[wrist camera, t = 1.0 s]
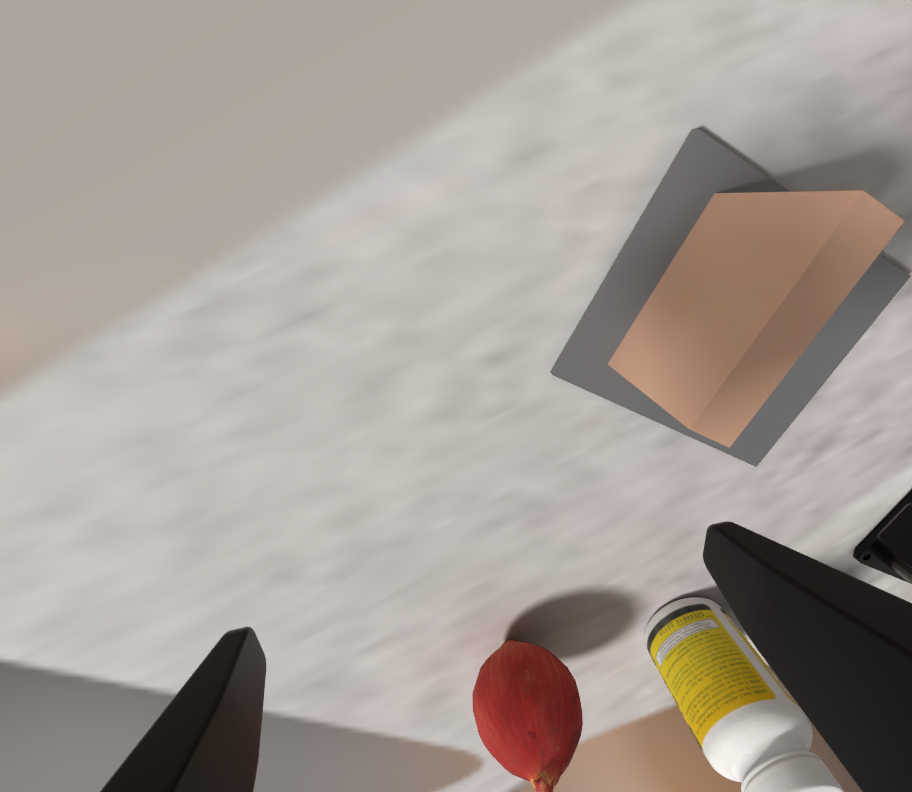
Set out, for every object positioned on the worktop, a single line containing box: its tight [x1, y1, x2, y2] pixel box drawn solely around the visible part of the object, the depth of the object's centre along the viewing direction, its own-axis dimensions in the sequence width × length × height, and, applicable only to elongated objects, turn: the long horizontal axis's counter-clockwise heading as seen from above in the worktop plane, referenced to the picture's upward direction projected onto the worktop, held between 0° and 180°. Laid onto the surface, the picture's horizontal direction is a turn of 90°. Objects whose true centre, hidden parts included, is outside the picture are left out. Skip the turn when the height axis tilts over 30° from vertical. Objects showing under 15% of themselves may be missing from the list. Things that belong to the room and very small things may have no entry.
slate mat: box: [551, 128, 910, 467], centre depth 21 cm, size 13×11×1 cm
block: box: [608, 190, 904, 448], centre depth 17 cm, size 2×8×6 cm, turn 154°
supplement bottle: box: [644, 597, 844, 792], centre depth 25 cm, size 5×5×10 cm
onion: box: [473, 640, 583, 792], centre depth 25 cm, size 6×6×8 cm
